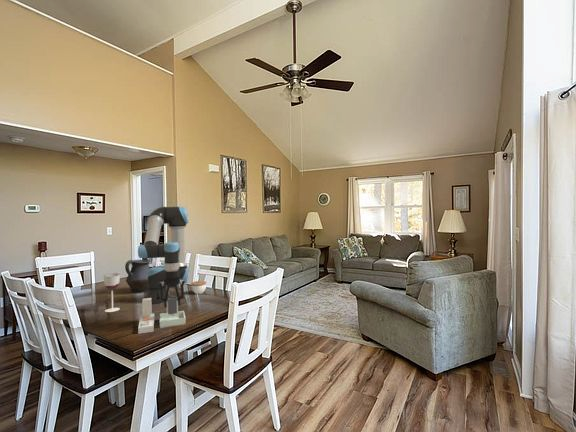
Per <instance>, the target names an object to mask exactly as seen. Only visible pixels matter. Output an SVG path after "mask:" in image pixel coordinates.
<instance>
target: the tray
mask: <svg viewBox="0 0 576 432" xmlns="http://www.w3.org/2000/svg"><path fill="white" fill-rule="evenodd" d="M186 320H187V319H186V313H185V310H178V312H177V313H175V314H174V315H173V316H171V314H168V313H167V312H165V313H164V312H163V313H159V329H163V328H169V327H177V326H184V325H185V326H186V323H187V322H186Z"/></svg>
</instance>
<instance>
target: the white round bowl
mask: <svg viewBox="0 0 576 432" xmlns="http://www.w3.org/2000/svg"><path fill="white" fill-rule="evenodd" d="M206 288H207V282H206V281H204V280H196V281H193V282H191V290H192V292H193V293H194V294H195V295H200V294H203V293H205V291H206Z"/></svg>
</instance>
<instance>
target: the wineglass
mask: <svg viewBox="0 0 576 432" xmlns="http://www.w3.org/2000/svg"><path fill="white" fill-rule="evenodd" d="M120 277H121V274H120V273H118V272H115V273H106V274H104V275H103V283H104V287H105V288H106V289H107V290H110V292H111V294H110V295H111V297H110V299H111V308H108V309H107V308H106V309H105V310H104V312H106V313H112V312H113V313H114V312H117V311H119V310H121V308H120V307H114V291H115V289H117V287H119V285H120V280H121V278H120Z"/></svg>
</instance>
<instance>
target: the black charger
mask: <svg viewBox="0 0 576 432" xmlns="http://www.w3.org/2000/svg"><path fill="white" fill-rule="evenodd" d="M177 299H178V298H177V296H169V297H168V314H171V316H173V315H174V314H175V313H177Z"/></svg>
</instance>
